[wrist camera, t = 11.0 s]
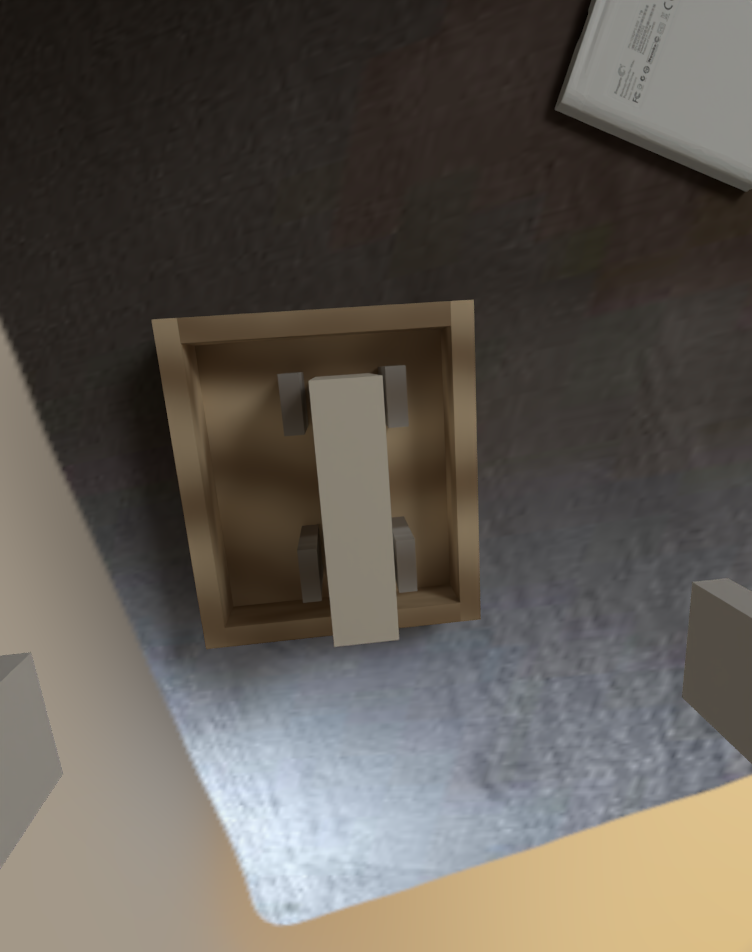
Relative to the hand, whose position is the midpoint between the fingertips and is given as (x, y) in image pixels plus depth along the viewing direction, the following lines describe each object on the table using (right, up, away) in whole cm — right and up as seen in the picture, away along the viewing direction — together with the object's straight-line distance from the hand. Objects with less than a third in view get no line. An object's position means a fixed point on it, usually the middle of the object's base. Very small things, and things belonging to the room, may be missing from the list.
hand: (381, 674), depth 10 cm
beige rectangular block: (-2, +4, +19) cm, 19 cm away
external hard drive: (+17, +26, +17) cm, 36 cm away
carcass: (-3, +4, +20) cm, 20 cm away
